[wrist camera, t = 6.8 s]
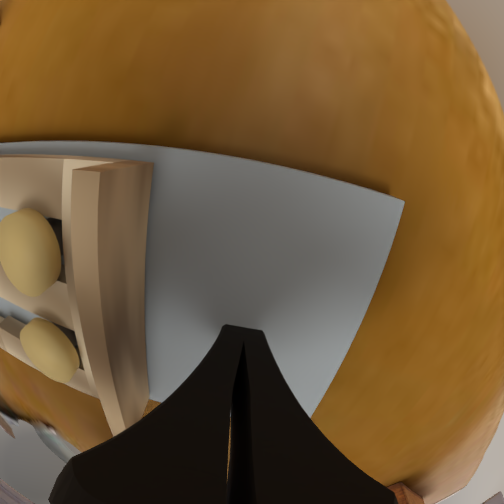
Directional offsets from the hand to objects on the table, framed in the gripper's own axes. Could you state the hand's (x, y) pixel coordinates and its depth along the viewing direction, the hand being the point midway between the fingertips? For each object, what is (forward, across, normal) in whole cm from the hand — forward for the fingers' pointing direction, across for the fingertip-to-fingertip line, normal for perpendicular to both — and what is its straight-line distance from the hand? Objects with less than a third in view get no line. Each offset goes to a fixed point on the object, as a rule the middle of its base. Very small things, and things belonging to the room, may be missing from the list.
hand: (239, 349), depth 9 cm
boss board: (+2, +7, 0) cm, 7 cm away
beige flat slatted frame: (+1, +11, 0) cm, 11 cm away
